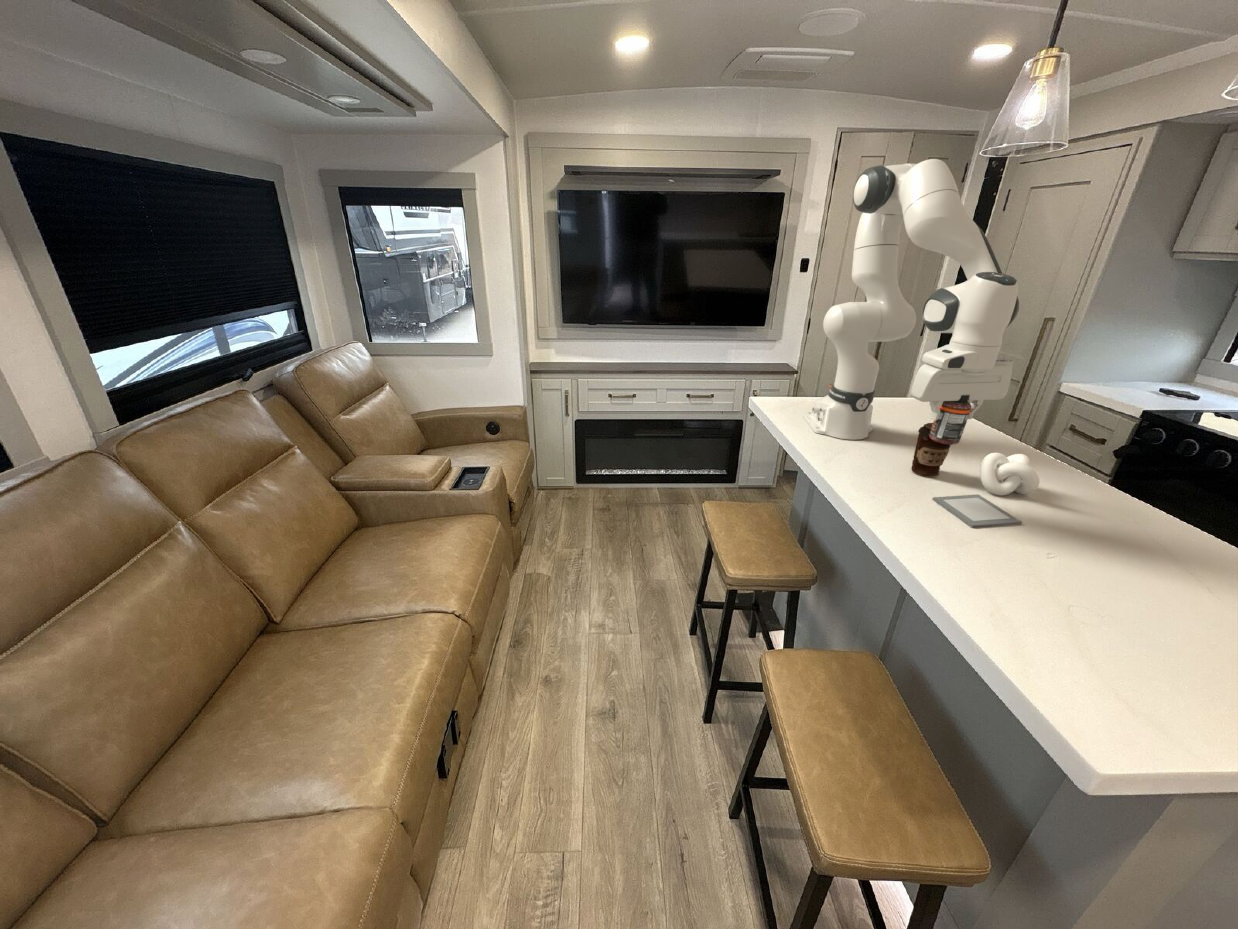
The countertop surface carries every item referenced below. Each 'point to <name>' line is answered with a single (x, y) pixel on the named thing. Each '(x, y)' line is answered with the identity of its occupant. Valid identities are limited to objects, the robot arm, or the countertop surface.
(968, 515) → the coaster
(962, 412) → the supplement bottle
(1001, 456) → the white decorative knot
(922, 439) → the coffee cup
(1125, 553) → the countertop surface
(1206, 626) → the countertop surface
